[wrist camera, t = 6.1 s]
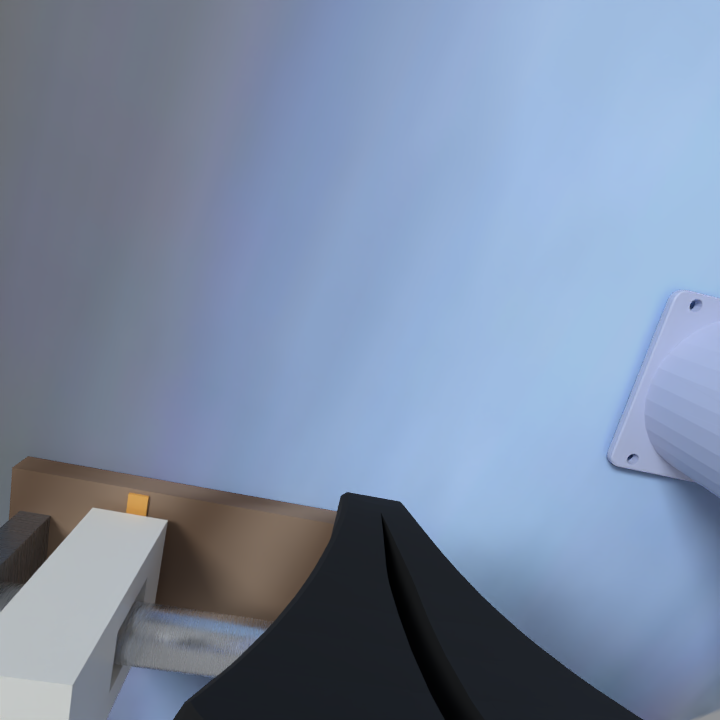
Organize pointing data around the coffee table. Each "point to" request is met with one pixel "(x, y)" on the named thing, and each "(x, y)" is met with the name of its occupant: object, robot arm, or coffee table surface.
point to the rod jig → (173, 558)
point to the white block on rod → (77, 619)
